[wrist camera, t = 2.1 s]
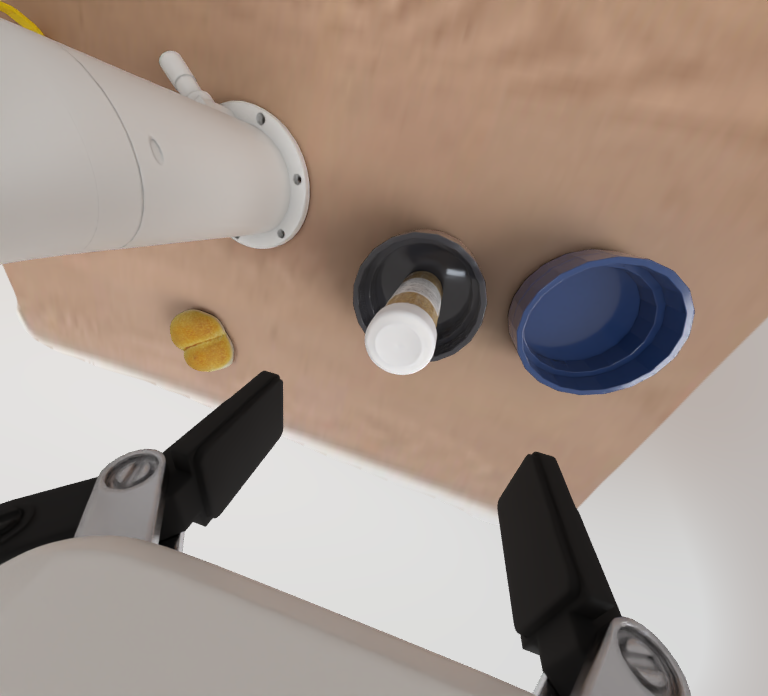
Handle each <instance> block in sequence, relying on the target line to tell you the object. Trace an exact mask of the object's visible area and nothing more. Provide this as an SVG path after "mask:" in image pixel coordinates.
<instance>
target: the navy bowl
mask: <svg viewBox="0 0 768 696" xmlns="http://www.w3.org/2000/svg"><path fill="white" fill-rule="evenodd" d="M694 314H695V310H694V306H693V302H692V297H691V293H690V290H689V288H688V287H687V286H686V284H685V283H684V282H683V281H682V280H681V279H680V277H679V276H678V275H677V274H676V273H675V272H674V271H673V270H671V269H669V268H667V267H665V266H663V265H661V264H658V263H656V262H654V261H652V260H650V259H646V258H642V257H638V256H634V255H629V254H625V253H621V252H617V251H609V250H599V249H589V250H583V251H578V252H572V253H568V254H565V255H563V256H561V257H558V258H556V259H554V260H552V261H550V262H548V263H546V264H544V265H543V266H541V267H540V268H539V269H538V270H537V271H535V272H534V273H533V274H532V275H531V276H529V277H528V278H527V279H526V280H525V281H524V283H523V284H522V286H521V287H520V289H519V290H518V292H517V293H516V294H515V296H514V297H513V300H512V304H511V307H510V310H509V313H508V325H509V334H510V336H511V338H512V341H513V343H514V345H515V347H516V350H517V352H518V354H519V356H520V359H521V361H522V363H523V365H524V367H525V369H526V370H527V371H528V372H529V373H530V374H531V375H532V376H533V377H534V378H535V379H536V380H537V381H539V382H540V383H542V384H545V385H547V386H549V387H551V388H553V389H555V390H557V391H561V392H566V393H572V394H577V395H592V394H606V393H610V392H614V391H618V390H621V389H625V388H629V387H632V386H634V385H635V384H637V383H639V382H641V381H643V380H645V379H647V378H649V377H651V376H653V375H654V374H656V373H657V372H658V371H660V370H661V369H662V368H663V367H664V366H665V365H667V364H668V363H669V362H670V361H671V360H672V359H674V358H675V357H676V355H677V354H678V352H679V351H680V349H681V348H682V346H683V345H684V343H685V342H686V340H687V339H688V337H689V335H690V331H691V327H692V322H693V318H694Z"/></svg>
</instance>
